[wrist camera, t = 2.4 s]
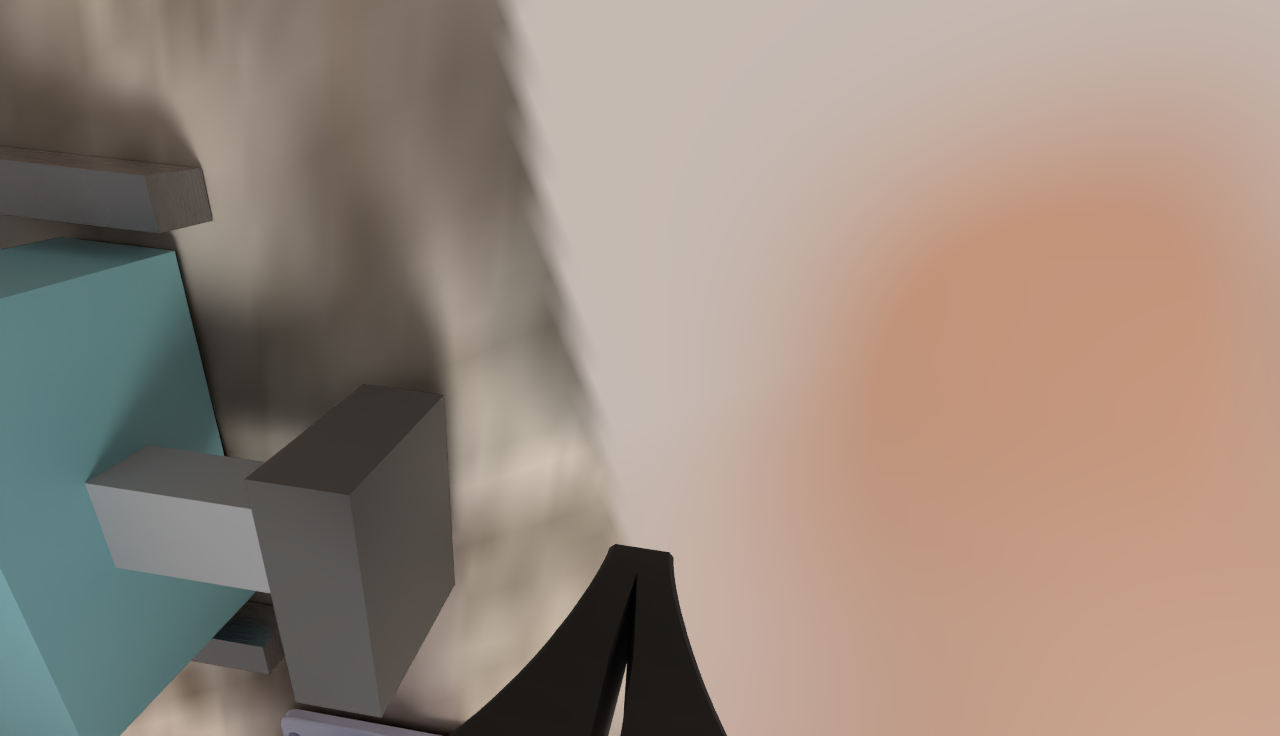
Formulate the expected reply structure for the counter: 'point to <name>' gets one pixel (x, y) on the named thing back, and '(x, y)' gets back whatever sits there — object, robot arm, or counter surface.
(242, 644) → the vise
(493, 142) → the counter surface
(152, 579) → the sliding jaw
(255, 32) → the counter surface
